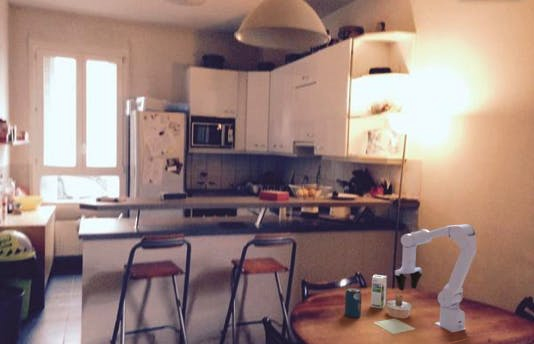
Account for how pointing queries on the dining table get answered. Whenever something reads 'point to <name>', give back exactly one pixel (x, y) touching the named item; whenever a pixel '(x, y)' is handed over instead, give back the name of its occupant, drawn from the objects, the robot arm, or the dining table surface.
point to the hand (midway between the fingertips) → (407, 289)
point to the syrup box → (378, 291)
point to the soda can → (353, 303)
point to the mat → (394, 326)
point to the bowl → (398, 313)
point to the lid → (398, 304)
